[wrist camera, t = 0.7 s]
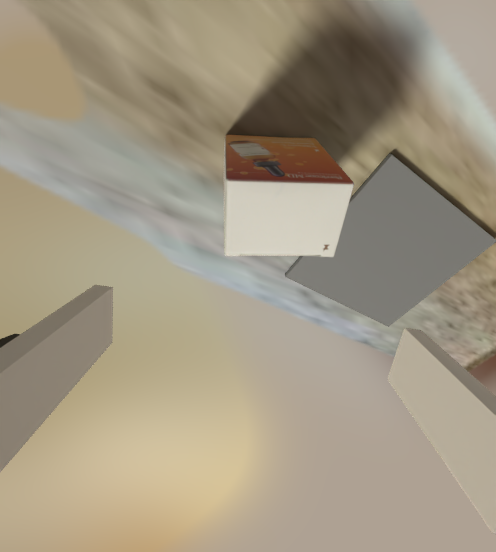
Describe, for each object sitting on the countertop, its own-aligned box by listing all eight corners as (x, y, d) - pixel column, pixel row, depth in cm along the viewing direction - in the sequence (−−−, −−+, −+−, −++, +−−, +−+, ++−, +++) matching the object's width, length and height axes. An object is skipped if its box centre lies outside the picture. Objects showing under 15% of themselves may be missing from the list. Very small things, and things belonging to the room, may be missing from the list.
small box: (315, 136, 26) (359, 182, 18) (304, 197, 30) (337, 259, 21) (223, 132, 26) (224, 177, 17) (222, 195, 29) (223, 258, 21)
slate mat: (284, 274, 35) (285, 276, 35) (389, 153, 28) (392, 154, 27) (386, 324, 42) (388, 326, 42) (494, 238, 34) (497, 240, 34)
